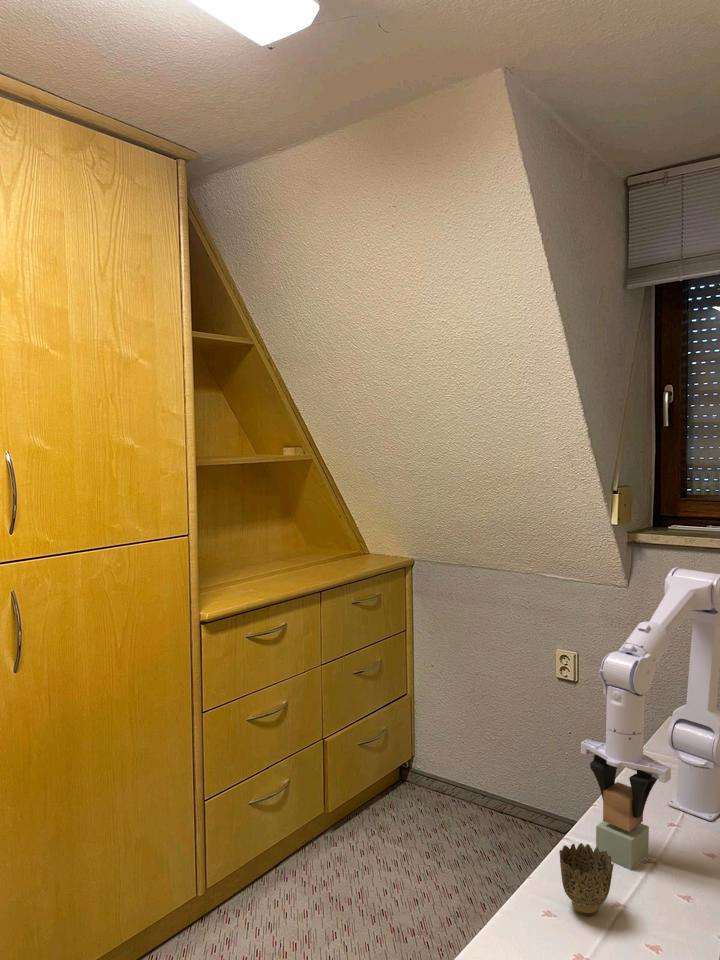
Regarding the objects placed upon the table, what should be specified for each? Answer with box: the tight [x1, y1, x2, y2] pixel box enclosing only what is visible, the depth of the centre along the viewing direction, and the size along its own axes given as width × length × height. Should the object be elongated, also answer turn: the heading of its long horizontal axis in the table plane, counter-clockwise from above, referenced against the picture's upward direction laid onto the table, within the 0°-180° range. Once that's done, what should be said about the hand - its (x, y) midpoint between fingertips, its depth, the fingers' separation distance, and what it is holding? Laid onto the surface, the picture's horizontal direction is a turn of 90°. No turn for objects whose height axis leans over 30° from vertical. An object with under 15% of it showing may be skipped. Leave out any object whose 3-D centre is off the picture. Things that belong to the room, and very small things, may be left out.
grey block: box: [595, 820, 650, 871], centre depth 120 cm, size 6×6×5 cm
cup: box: [559, 842, 615, 917], centre depth 106 cm, size 8×7×8 cm
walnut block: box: [602, 781, 644, 832], centre depth 120 cm, size 4×4×5 cm
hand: (623, 809), depth 120 cm, fingers closed on walnut block, 4 cm apart
